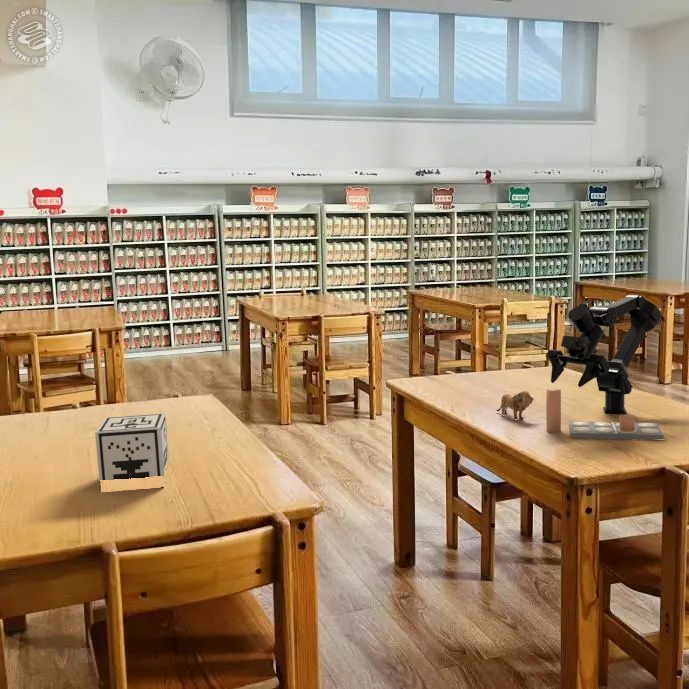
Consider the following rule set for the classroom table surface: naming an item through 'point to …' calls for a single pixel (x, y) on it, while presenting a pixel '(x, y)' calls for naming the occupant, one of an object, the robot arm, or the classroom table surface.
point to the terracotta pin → (553, 410)
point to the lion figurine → (516, 403)
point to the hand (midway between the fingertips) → (565, 384)
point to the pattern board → (615, 429)
